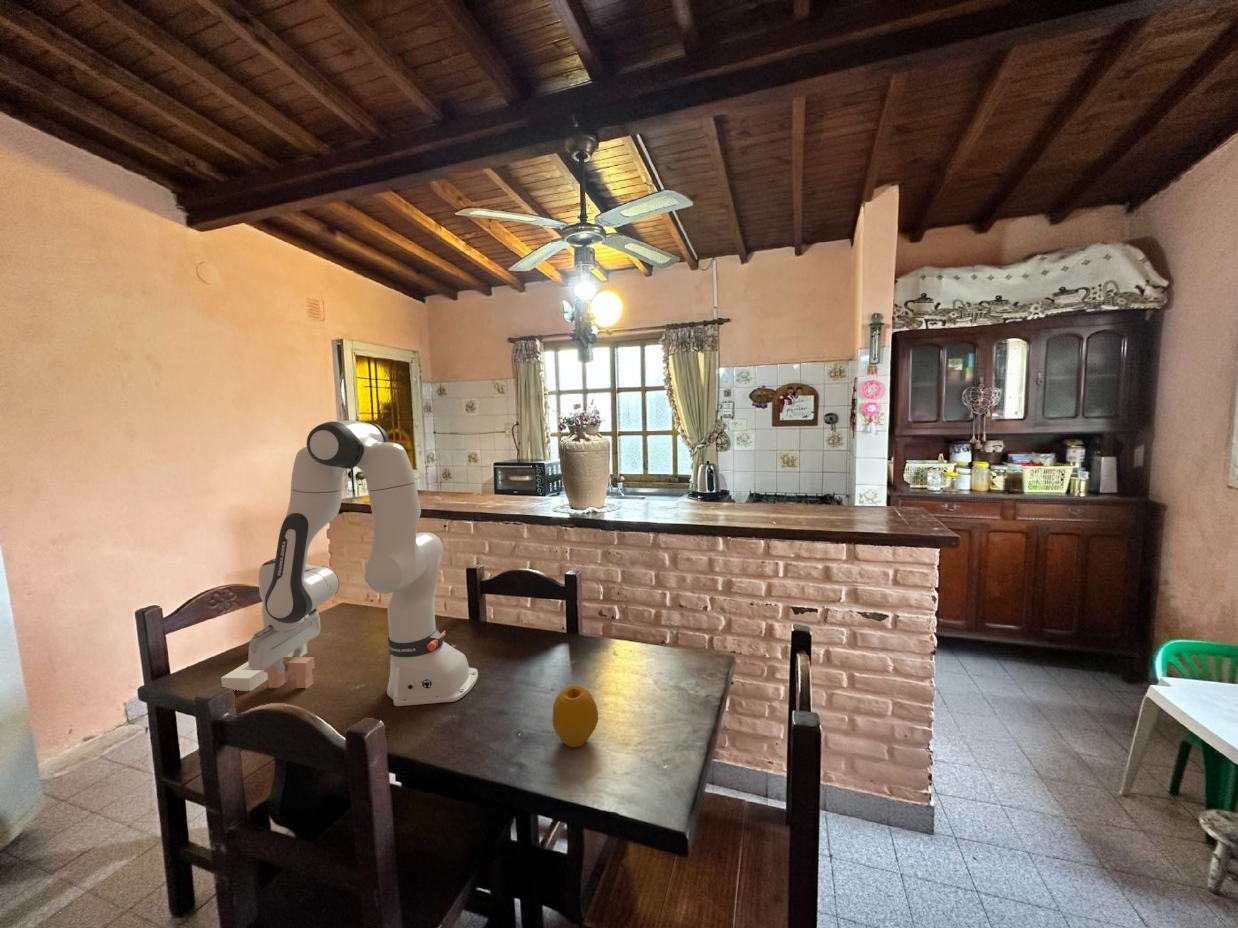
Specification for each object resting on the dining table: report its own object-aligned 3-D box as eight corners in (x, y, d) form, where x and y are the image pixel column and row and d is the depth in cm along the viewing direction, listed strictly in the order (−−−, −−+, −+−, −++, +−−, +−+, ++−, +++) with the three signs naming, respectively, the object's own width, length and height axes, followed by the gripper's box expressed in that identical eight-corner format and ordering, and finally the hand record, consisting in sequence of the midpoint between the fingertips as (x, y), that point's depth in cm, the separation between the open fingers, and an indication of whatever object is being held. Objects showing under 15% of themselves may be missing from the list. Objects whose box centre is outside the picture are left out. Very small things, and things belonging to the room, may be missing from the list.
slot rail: (307, 652, 144) (306, 641, 144) (250, 690, 125) (249, 678, 124) (283, 652, 145) (281, 641, 145) (222, 690, 125) (221, 677, 125)
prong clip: (275, 681, 129) (272, 656, 128) (316, 682, 128) (313, 657, 127) (265, 688, 126) (262, 662, 125) (308, 689, 125) (305, 663, 124)
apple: (608, 738, 102) (606, 687, 101) (575, 764, 95) (572, 709, 94) (577, 720, 109) (575, 671, 107) (543, 743, 101) (541, 691, 100)
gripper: (261, 636, 114) (268, 691, 116) (322, 602, 134) (327, 649, 136) (237, 636, 115) (244, 690, 116) (301, 602, 135) (306, 648, 136)
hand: (289, 667), depth 126 cm, fingers closed on prong clip, 3 cm apart
